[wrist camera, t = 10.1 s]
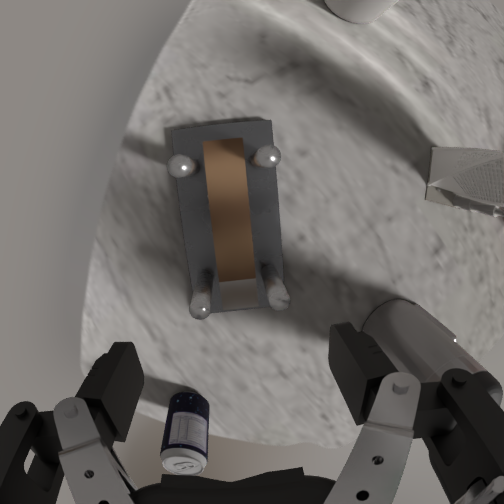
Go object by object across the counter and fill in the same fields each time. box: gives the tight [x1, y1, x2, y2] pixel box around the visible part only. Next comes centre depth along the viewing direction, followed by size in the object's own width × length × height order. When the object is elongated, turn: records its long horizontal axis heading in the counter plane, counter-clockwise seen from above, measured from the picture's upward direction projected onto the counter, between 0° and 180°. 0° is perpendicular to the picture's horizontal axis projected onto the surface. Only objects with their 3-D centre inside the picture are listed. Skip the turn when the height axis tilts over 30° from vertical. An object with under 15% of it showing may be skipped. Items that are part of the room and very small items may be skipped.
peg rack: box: [167, 120, 290, 320], centre depth 27 cm, size 10×20×8 cm, turn 5°
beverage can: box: [160, 391, 209, 476], centre depth 31 cm, size 6×6×12 cm
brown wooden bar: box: [203, 137, 259, 310], centre depth 28 cm, size 16×4×4 cm, turn 5°
